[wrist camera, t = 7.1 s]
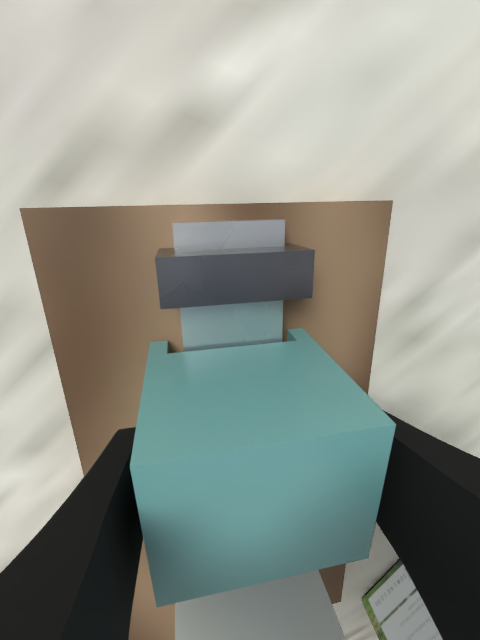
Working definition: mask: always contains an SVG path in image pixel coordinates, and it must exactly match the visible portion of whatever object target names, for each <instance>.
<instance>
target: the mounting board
mask: <svg viewBox="0 0 480 640" xmlns="http://www.w3.org/2000/svg"><path fill="white" fill-rule="evenodd" d="M392 204H393V201H346V202H299V203H251V204H204V205H156V206H109V207H61V208H20V212H21V216H22V220H23V224H24V229H25V233H26V237H27V241H28V245H29V249H30V254H31V258H32V262H33V266H34V270H35V274H36V278H37V283H38V287H39V291H40V295H41V299H42V303H43V308H44V312H45V316H46V320H47V324H48V328H49V333H50V337H51V341H52V345H53V349H54V353H55V357H56V362H57V366H58V370H59V374H60V378H61V382H62V387H63V391H64V395H65V399H66V403H67V407H68V411H69V416H70V420H71V424H72V428H73V432H74V436H75V441H76V445H77V449H78V453H79V457H80V461H81V466H82V470H83V474H84V476H85V475H86V474H87V472H88V471H89V470H90V468H91V467H92V466H93V464H94V463H95V461H96V460H97V459H98V457H99V456H100V454H101V453H102V452H103V450H104V449H105V447H106V446H107V444H108V443H109V441H110V440H111V439H112V437H113V436H114V434H115V433H116V432H117V431H118V430H119V429H125V428H132V427H136V425H137V418H138V412H139V406H140V400H141V394H142V388H143V382H144V376H145V370H146V364H147V357H148V351H149V345H150V342H158V341H168V349H169V353H178V352H184V349H183V338H182V327H181V316H180V308H173V309H160V300H159V291H158V282H157V273H156V264H155V256H156V254H157V252H158V250H159V248H174V238H173V227H172V222H187V221H220V220H254V219H283V220H285V243H292V244H296V245H299V246H303V247H306V248H310V249H313V250H315V259H314V277H313V295H312V298H305V299H292V300H283V330H282V342H287V329H297V328H303V329H304V330H305V331H306V332H307V333H308V334H309V335H310V336H311V337H312V338H313V339H314V340H315V341H316V342H317V343H318V344H319V345H320V346H321V347H322V348H323V350H324V351H325V352H326V353H327V354H328V355H329V356H330V357H331V358H332V359H333V360H334V361H335V362H336V363H337V364H338V365H339V366H340V367H341V368H342V369H343V370H344V371H345V372H346V373H347V374H348V375H349V376H350V377H351V378H352V379H353V380H354V381H355V383H356V384H357V385H358V386H359V387H360V388H361V389H362V390H363V391H364V392H365V393H366V394H367V395H368V388H369V380H370V373H371V365H372V357H373V350H374V342H375V334H376V326H377V319H378V311H379V303H380V296H381V288H382V280H383V273H384V265H385V257H386V250H387V242H388V234H389V227H390V219H391V211H392ZM345 565H346V563H344V564H340V565H336V566H332V567H327V568H323V569H319V573H320V575H321V578H322V581H323V583H324V586H325V588H326V591H327V593H328V596H329V598H330V601H331V603H332V604H333V603H337V602H341V595H342V588H343V580H344V572H345ZM128 640H175V603H174V604H170V605H166V606H161V607H156V602H155V597H154V592H153V586H152V581H151V576H150V571H149V565H148V560H147V555H146V550H145V544H144V539H143V542H142V549H141V555H140V561H139V568H138V574H137V580H136V587H135V593H134V599H133V606H132V613H131V621H130V629H129V639H128Z"/></svg>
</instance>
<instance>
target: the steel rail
mask: <svg viewBox="0 0 480 640" xmlns="http://www.w3.org/2000/svg"><path fill="white" fill-rule="evenodd" d="M172 227H173V238H174V248H159V250H158V252H157V254H156V256H155V264H156V273H157V282H158V291H159V300H160V309H173V308H180V316H181V327H182V338H183V349H184V352H188V351H198V350H208V349H218V348H228V347H238V346H248V345H258V344H268V343H278V342H282V330H283V300H292V299H305V298H312V295H313V277H314V259H315V250H313V249H310V248H306V247H303V246H299V245H296V244H292V243H285V220H283V219H254V220H220V221H187V222H172Z"/></svg>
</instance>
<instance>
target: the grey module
mask: <svg viewBox="0 0 480 640" xmlns="http://www.w3.org/2000/svg"><path fill="white" fill-rule="evenodd" d="M175 640H346V639H345V636H344V634H343V631H342V629H341V626H340V624H339V621H338V619H337V616H336V613H335V611H334V608H333V606H332V603H331V601H330V598H329V596H328V593H327V591H326V588H325V586H324V583H323V581H322V578H321V575H320V573H319V570H315V571H310V572H306V573H302V574H298V575H293V576H289V577H285V578H281V579H276V580H272V581H268V582H264V583H259V584H255V585H251V586H247V587H242V588H238V589H234V590H229V591H225V592H221V593H217V594H212V595H208V596H204V597H200V598H195V599H191V600H187V601H183V602H178V603H175Z"/></svg>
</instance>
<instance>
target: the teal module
mask: <svg viewBox="0 0 480 640" xmlns="http://www.w3.org/2000/svg"><path fill="white" fill-rule="evenodd" d="M395 427H396V424H395V423H394V422H393V421H392V420H391V419H390V418H389V417H388V415H387V414H386V413H385V412H384V411H383V410H382V409H381V408H380V407H379V406H378V405H377V404H376V403H375V402H374V401H373V400H372V399H371V398H370V397H369V396H368V395H367V394H366V393H365V392H364V391H363V390H362V389H361V388H360V387H359V386H358V385H357V384H356V383H355V381H354V380H353V379H352V378H351V377H350V376H349V375H348V374H347V373H346V372H345V371H344V370H343V369H342V368H341V367H340V366H339V365H338V364H337V363H336V362H335V361H334V360H333V359H332V358H331V357H330V356H329V355H328V354H327V353H326V352H325V351H324V350H323V348H322V347H321V346H320V345H319V344H318V343H317V342H316V341H315V340H314V339H313V338H312V337H311V336H310V335H309V334H308V333H307V332H306V331H305V330H304V329H303V328H297V329H287V342H278V343H268V344H258V345H248V346H238V347H228V348H218V349H208V350H198V351H188V352H178V353H169V349H168V341H158V342H150V345H149V351H148V357H147V364H146V370H145V376H144V382H143V388H142V394H141V400H140V406H139V412H138V418H137V425H136V431H135V437H134V443H133V449H132V455H131V461H130V471H131V476H132V481H133V486H134V492H135V497H136V502H137V507H138V513H139V518H140V523H141V529H142V534H143V539H144V544H145V550H146V555H147V560H148V565H149V571H150V576H151V581H152V586H153V592H154V597H155V602H156V607H161V606H166V605H170V604H174V603H178V602H183V601H187V600H191V599H195V598H200V597H204V596H208V595H212V594H217V593H221V592H225V591H229V590H234V589H238V588H242V587H247V586H251V585H255V584H259V583H264V582H268V581H272V580H276V579H281V578H285V577H289V576H293V575H298V574H302V573H306V572H310V571H315V570H319V569H323V568H327V567H332V566H336V565H340V564H344V563H349V562H353V561H357V560H361V559H366V558H368V557H369V552H370V547H371V542H372V537H373V533H374V528H375V523H376V518H377V514H378V509H379V504H380V499H381V494H382V490H383V485H384V480H385V475H386V470H387V466H388V461H389V456H390V451H391V447H392V442H393V437H394V432H395Z"/></svg>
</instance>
